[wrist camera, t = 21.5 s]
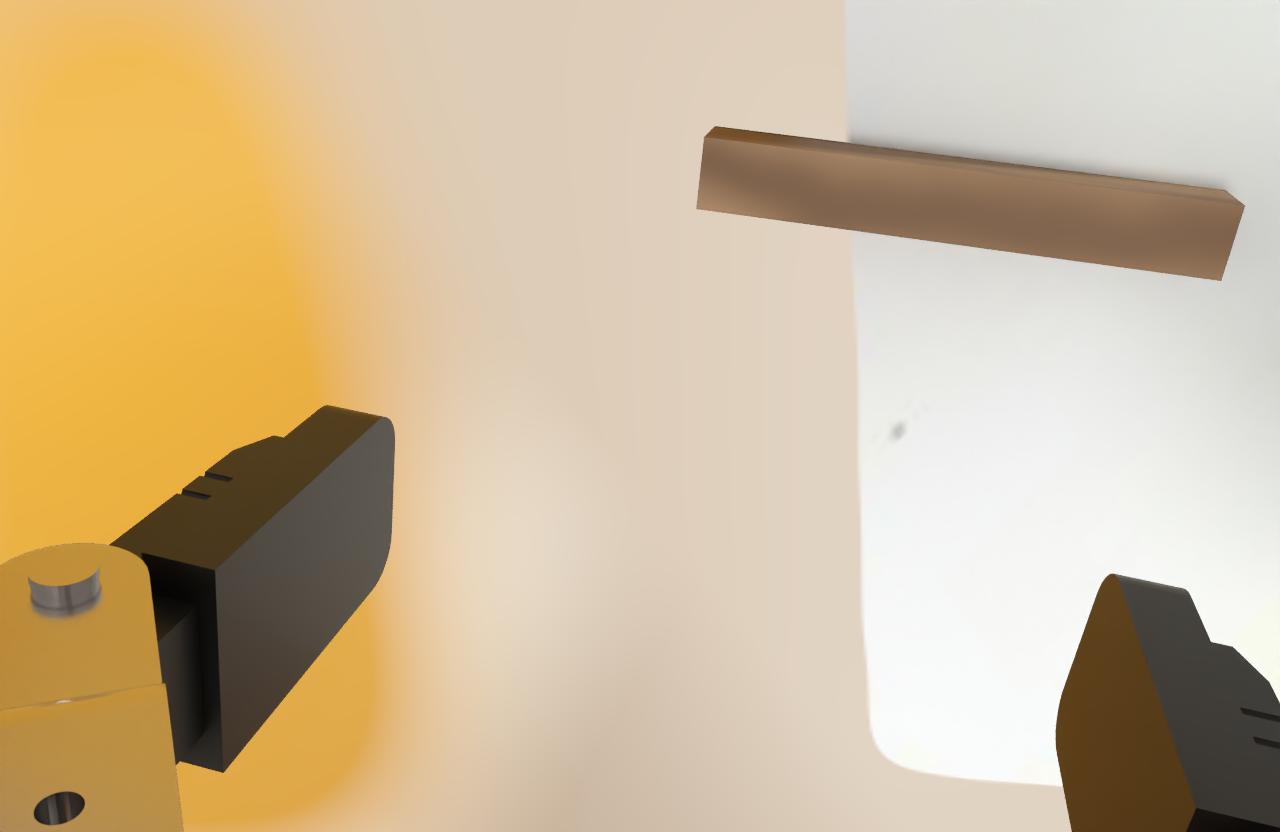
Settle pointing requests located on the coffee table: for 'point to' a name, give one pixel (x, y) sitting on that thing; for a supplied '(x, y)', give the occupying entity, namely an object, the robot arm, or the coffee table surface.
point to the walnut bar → (970, 202)
